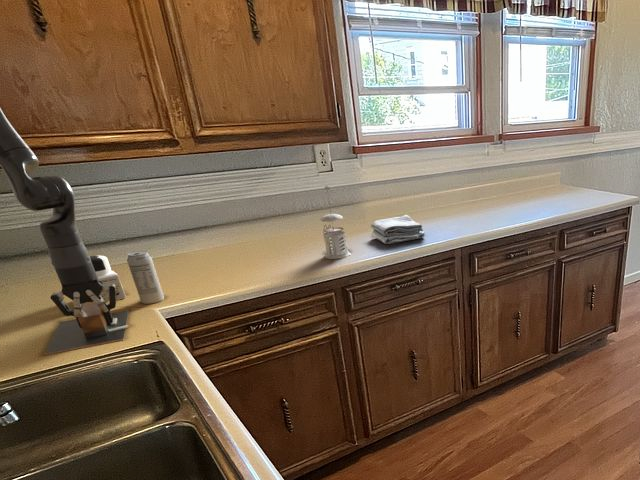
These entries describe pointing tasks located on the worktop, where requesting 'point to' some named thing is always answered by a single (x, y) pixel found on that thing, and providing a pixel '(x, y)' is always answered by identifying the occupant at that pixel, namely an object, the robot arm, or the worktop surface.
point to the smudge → (118, 328)
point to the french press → (334, 236)
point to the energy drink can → (145, 277)
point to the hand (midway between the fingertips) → (97, 326)
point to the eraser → (92, 321)
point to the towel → (396, 229)
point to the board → (74, 337)
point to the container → (107, 277)
